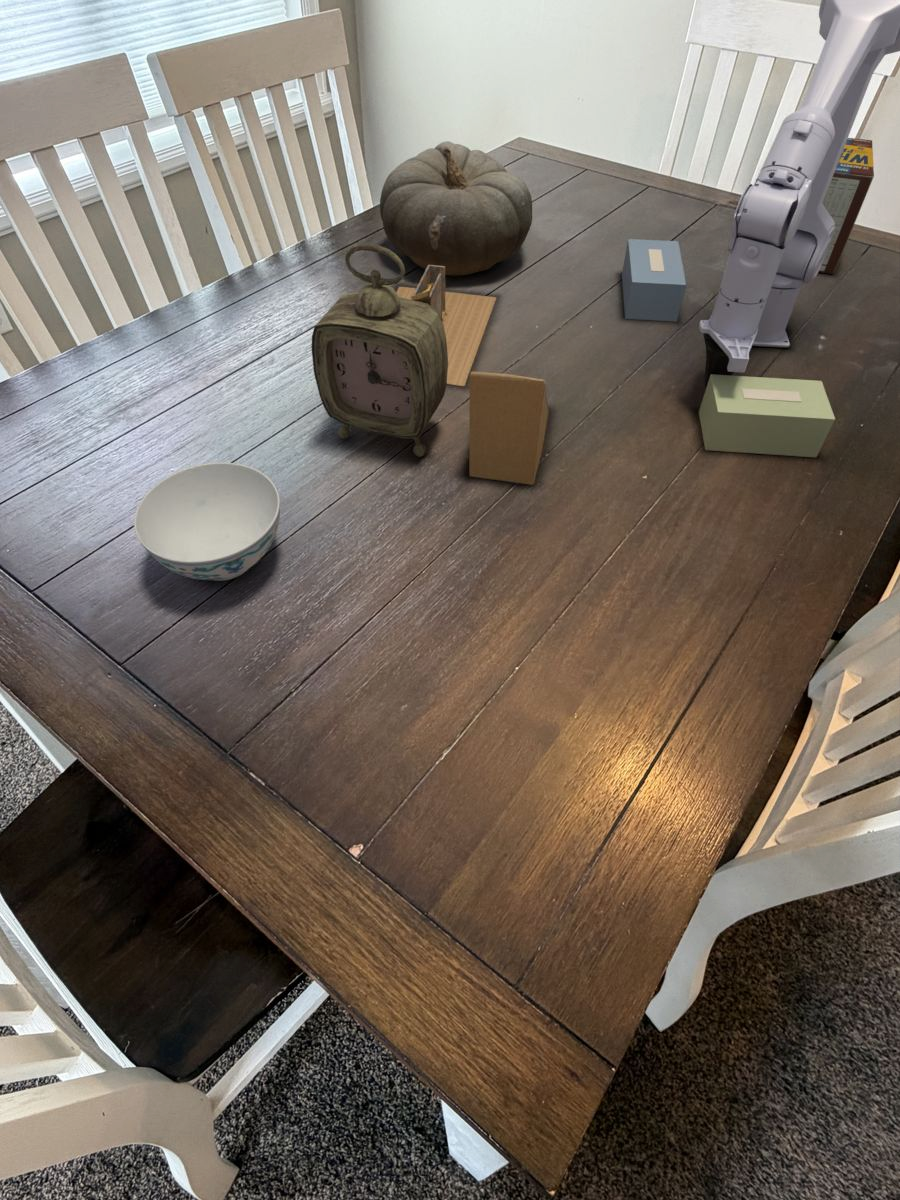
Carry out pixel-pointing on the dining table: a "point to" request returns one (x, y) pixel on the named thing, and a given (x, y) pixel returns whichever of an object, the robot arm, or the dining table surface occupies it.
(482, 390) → the sandwich container
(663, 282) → the back tissue box
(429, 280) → the architectural model on board
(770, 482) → the dining table surface
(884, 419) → the dining table surface
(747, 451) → the front tissue box
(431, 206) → the gourd
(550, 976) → the dining table surface
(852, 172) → the protein box
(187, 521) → the chinaware
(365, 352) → the tabletop clock
